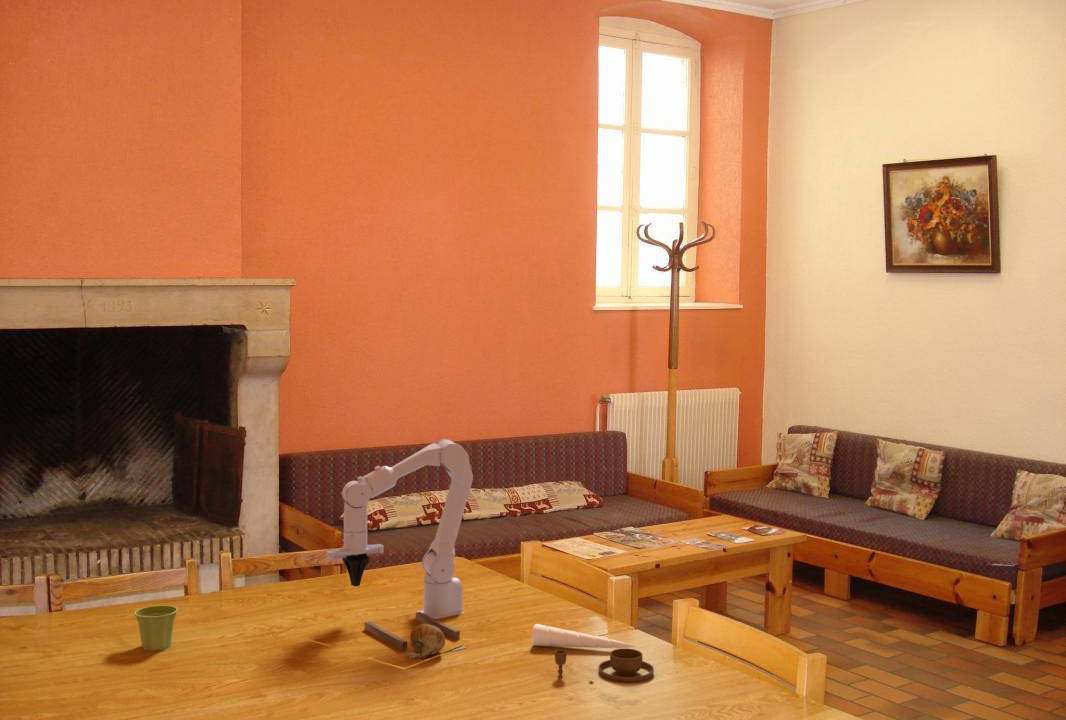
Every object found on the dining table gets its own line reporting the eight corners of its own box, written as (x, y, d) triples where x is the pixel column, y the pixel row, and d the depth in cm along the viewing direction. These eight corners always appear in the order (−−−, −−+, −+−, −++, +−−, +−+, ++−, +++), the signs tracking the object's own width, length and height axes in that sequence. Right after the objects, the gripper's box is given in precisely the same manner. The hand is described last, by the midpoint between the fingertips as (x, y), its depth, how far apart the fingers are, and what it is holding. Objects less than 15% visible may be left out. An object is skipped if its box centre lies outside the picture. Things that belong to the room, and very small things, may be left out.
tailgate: (409, 650, 248) (421, 657, 244) (454, 641, 255) (466, 647, 251) (409, 652, 248) (421, 658, 244) (455, 642, 255) (466, 648, 251)
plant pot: (125, 650, 247) (125, 612, 246) (157, 639, 255) (157, 602, 255) (155, 657, 243) (155, 618, 242) (187, 645, 251) (186, 608, 250)
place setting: (643, 693, 226) (644, 665, 225) (551, 681, 232) (551, 653, 232) (661, 666, 242) (661, 640, 242) (574, 655, 249) (575, 630, 248)
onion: (429, 644, 251) (436, 671, 245) (400, 635, 247) (406, 662, 241) (448, 622, 249) (455, 648, 243) (419, 612, 245) (425, 639, 238)
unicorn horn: (633, 662, 250) (629, 668, 245) (533, 641, 256) (528, 646, 251) (636, 641, 249) (632, 647, 245) (536, 621, 255) (530, 626, 251)
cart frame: (419, 621, 271) (419, 611, 271) (459, 641, 256) (459, 630, 256) (364, 632, 262) (364, 622, 262) (402, 653, 247) (402, 642, 247)
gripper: (374, 524, 276) (374, 577, 276) (321, 531, 267) (321, 585, 268) (387, 529, 270) (387, 583, 271) (333, 536, 261) (333, 592, 262)
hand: (355, 585), depth 269 cm, fingers closed
